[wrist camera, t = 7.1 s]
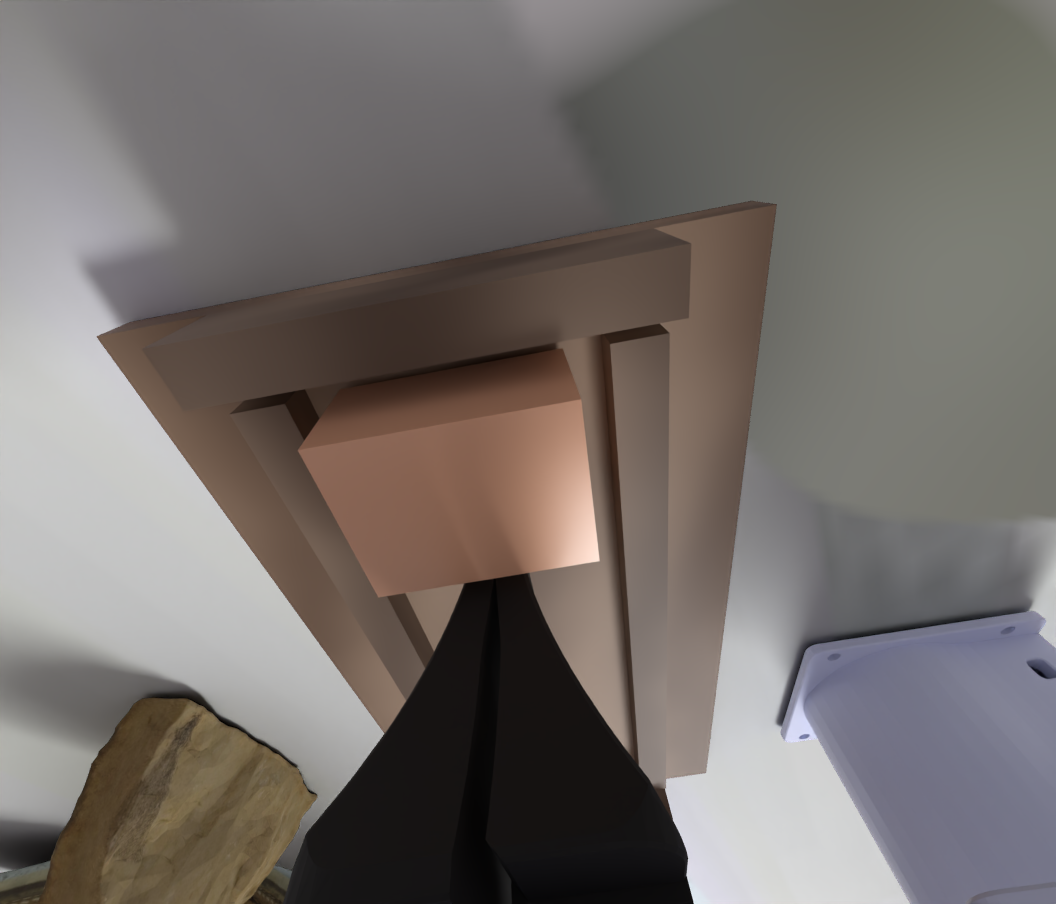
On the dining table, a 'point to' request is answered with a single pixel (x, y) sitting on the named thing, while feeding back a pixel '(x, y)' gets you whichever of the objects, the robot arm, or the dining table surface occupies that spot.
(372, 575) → the slider knob
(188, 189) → the dining table surface
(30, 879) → the oxford shoe
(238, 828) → the rock
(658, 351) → the slider track
